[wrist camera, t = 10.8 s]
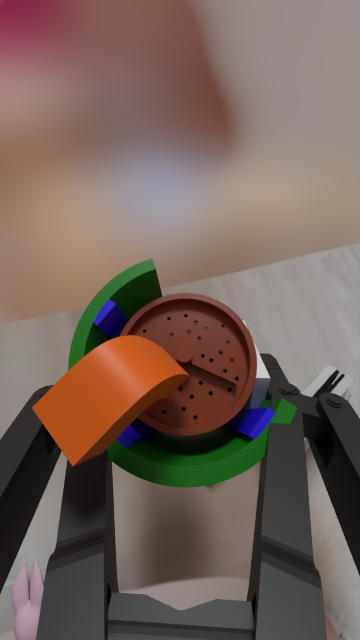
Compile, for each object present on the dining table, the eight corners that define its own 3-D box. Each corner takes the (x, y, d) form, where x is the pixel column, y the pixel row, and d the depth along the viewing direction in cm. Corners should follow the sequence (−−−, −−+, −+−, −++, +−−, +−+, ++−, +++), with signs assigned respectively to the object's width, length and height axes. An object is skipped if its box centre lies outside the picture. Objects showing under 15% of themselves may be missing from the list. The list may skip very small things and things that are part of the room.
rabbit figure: (72, 677, 31) (59, 547, 34) (47, 748, 26) (34, 585, 28) (24, 688, 31) (15, 557, 34) (-12, 763, 25) (-20, 598, 28)
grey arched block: (286, 474, 37) (293, 471, 29) (261, 448, 40) (261, 439, 32) (350, 396, 40) (371, 374, 33) (322, 378, 43) (336, 353, 35)
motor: (249, 383, 25) (420, 308, 6) (201, 463, 23) (242, 730, 4) (170, 330, 27) (120, 161, 9) (119, 398, 25) (-98, 369, 6)
